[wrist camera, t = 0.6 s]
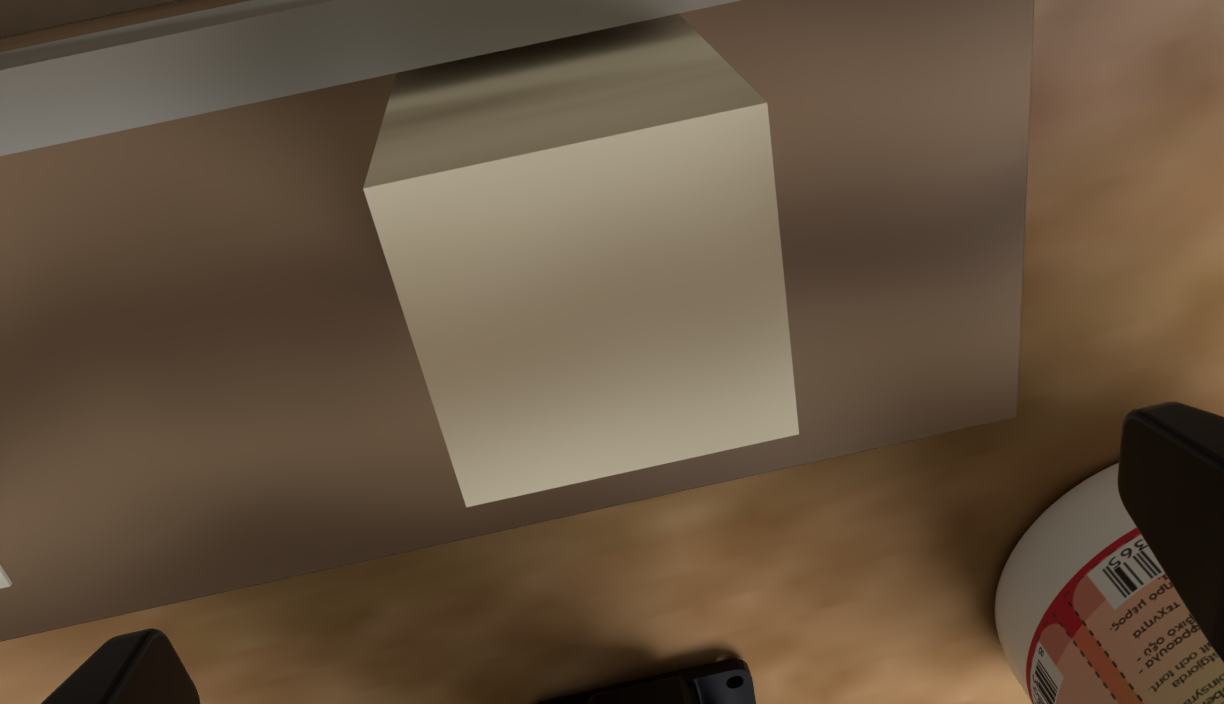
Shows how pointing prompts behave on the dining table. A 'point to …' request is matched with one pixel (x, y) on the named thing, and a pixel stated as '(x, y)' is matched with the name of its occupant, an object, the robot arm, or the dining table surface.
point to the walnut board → (366, 296)
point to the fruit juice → (1099, 611)
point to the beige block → (587, 256)
